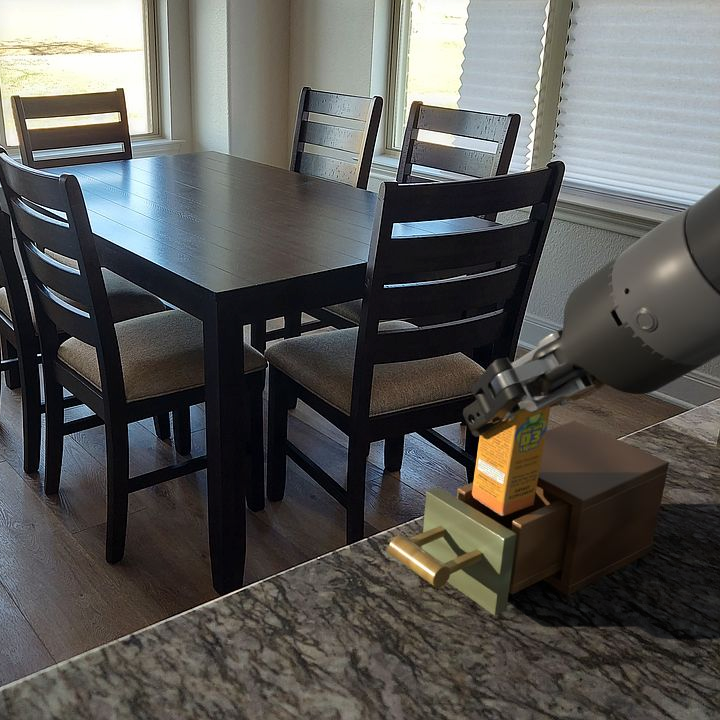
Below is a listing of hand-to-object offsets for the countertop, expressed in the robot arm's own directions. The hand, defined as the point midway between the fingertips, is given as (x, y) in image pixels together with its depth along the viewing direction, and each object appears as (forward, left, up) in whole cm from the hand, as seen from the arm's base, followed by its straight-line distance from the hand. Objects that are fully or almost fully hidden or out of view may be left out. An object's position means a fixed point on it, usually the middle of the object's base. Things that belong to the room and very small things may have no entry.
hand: (492, 417), depth 61 cm
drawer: (+2, +2, -12) cm, 12 cm away
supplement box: (0, +2, -6) cm, 7 cm away
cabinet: (-8, 0, -13) cm, 15 cm away
